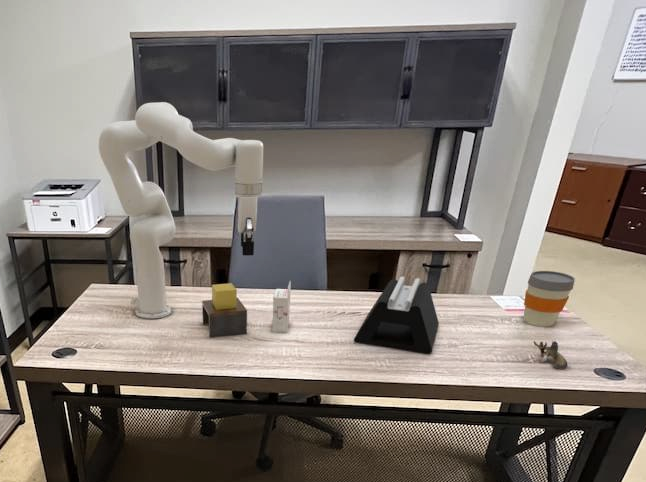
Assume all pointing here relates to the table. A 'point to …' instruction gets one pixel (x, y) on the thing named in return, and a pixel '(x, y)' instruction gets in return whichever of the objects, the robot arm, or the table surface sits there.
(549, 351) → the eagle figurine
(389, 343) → the device stand
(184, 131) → the robot arm
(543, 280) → the reusable coffee cup
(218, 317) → the stand
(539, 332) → the table surface
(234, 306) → the sticky-note cube
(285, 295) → the ink cartridge box
